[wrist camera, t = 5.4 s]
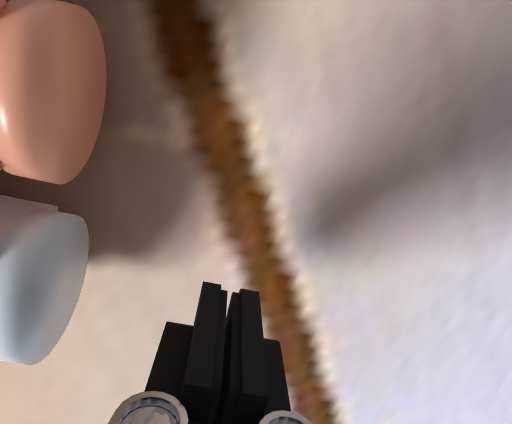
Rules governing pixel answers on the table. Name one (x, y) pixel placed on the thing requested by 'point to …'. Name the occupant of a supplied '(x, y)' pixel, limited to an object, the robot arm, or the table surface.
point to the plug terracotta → (49, 88)
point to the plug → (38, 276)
